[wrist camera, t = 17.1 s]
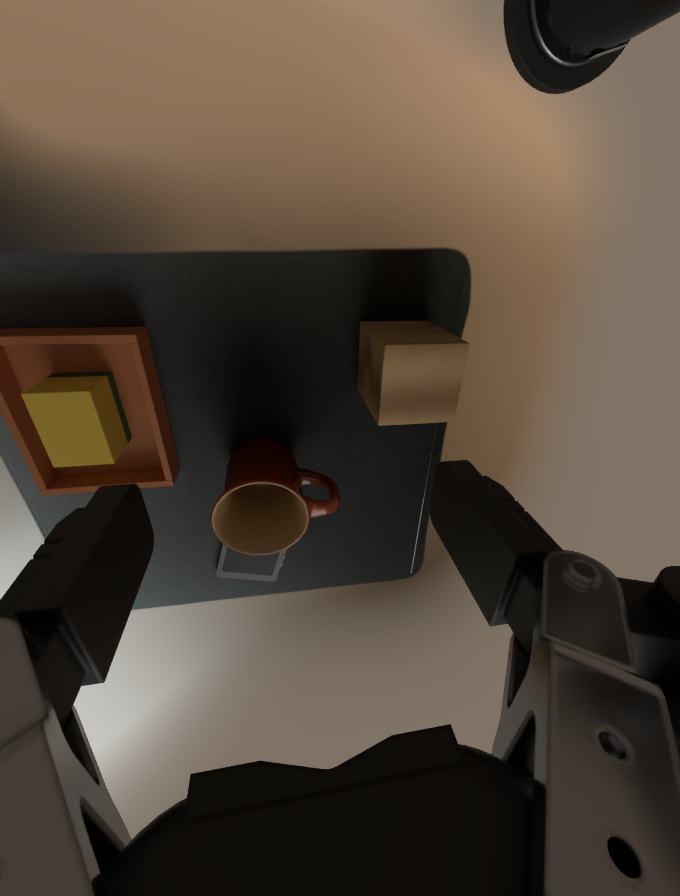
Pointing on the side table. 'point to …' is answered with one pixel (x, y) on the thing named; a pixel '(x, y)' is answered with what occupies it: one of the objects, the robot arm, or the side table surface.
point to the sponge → (79, 418)
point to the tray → (131, 361)
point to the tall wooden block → (410, 371)
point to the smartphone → (249, 565)
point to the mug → (267, 499)
